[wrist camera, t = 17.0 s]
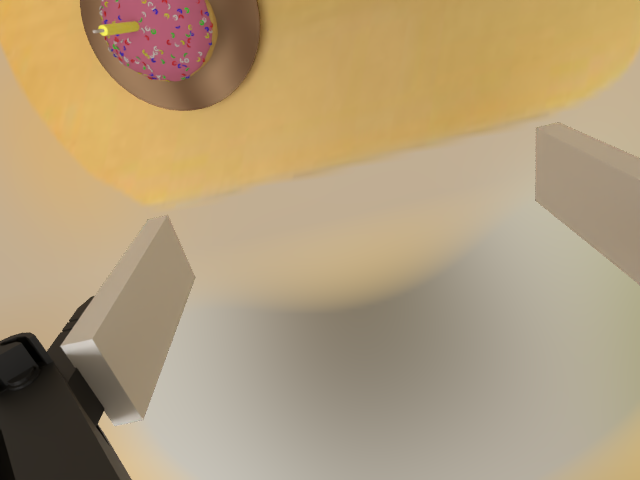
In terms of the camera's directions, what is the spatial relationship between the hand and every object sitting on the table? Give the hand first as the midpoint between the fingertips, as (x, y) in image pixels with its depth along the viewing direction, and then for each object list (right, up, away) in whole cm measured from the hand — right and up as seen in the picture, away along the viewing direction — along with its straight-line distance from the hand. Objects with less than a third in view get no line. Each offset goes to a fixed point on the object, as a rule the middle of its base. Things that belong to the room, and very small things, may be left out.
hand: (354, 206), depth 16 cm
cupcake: (-14, +18, +22) cm, 32 cm away
